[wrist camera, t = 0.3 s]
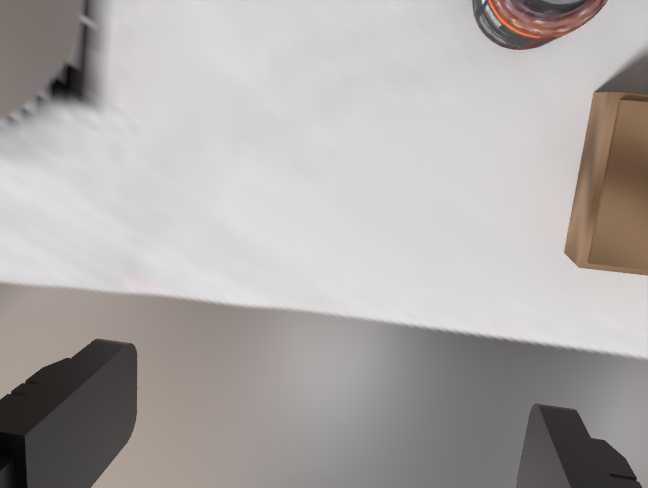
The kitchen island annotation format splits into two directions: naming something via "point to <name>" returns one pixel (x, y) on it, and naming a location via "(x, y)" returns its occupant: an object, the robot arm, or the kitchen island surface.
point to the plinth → (612, 187)
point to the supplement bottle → (532, 20)
